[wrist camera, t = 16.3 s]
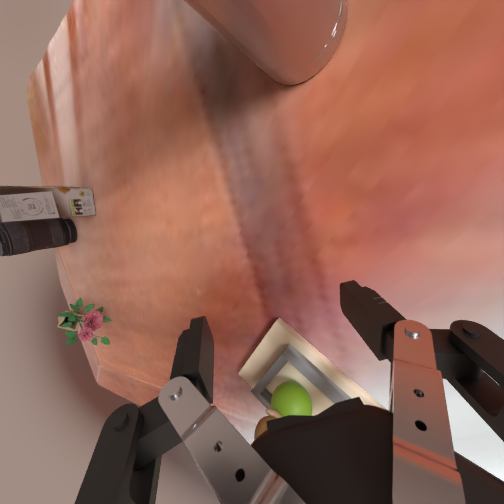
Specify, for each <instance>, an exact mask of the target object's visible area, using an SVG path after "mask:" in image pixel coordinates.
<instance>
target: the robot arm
mask: <svg viewBox="0 0 504 504" xmlns="http://www.w3.org/2000/svg"><path fill="white" fill-rule="evenodd" d="M184 1H185V2H186V3H187V4H189V5H190V6H191V7H192V8H193V9H194V10H195V11H197V12H198V13H199V14H200V15H201V16H202V17H203V18H204V19H206V20H207V21H208V22H209V23H210V24H211V25H212V26H213V27H215V28H216V29H217V30H218V31H219V32H220V33H221V34H223V35H224V36H225V37H226V38H227V39H228V40H229V41H230V42H232V43H233V44H234V45H235V46H236V47H237V48H238V49H240V50H241V51H242V52H243V53H244V54H245V55H246V56H247V57H249V58H250V59H251V60H252V61H253V62H254V63H255V64H256V65H257V66H259V67H260V68H261V69H262V70H263V71H264V72H265V73H267V74H268V75H269V76H270V77H271V78H272V79H274V80H275V81H276V82H279V83H281V84H285V85H294V84H299V83H301V82H304V81H306V80H308V79H310V78H311V77H313V76H314V75H316V74H317V73H318V72H319V71H320V70H321V69H322V68H323V67H324V66H325V65H326V63H327V62H328V61H329V60H330V58H331V57H332V55H333V53H334V52H335V50H336V48H337V47H338V44H339V42H340V39H341V37H342V34H343V31H344V27H345V23H346V15H347V3H346V0H184ZM340 305H341V309H342V312H343V314H344V315H345V316H346V318H347V319H348V320H349V322H350V323H351V324H352V326H353V327H354V328H355V330H356V331H357V332H358V333H359V335H360V336H361V337H362V339H363V340H364V341H365V343H366V344H367V345H368V347H369V348H370V349H371V351H372V352H373V353H374V354H375V356H376V357H377V358H378V360H379V361H381V360H384V359H388V360H389V361H390V362H391V366H390V391H389V410H386V409H383V408H380V407H377V406H373V405H364V404H363V402H362V400H361V399H360V397H356V398H352V399H348V400H344V401H340V402H337V403H335V404H333V405H332V406H330V407H329V408H327V409H326V410H324V411H322V412H321V413H319V414H317V415H315V416H308V415H288V416H284V417H280V418H276V419H272V420H269V421H266V423H267V429H268V430H266V431H264V432H263V433H262V434H260V435H259V436H258V437H257V438H256V439H255V440H254V442H253V443H252V444H251V445H250V444H249V443H248V442H247V441H246V440H245V439H244V437H243V436H242V435H241V434H240V433H239V432H238V431H237V430H236V428H235V427H234V426H233V425H232V424H231V423H230V422H229V421H228V419H227V418H226V417H225V416H224V415H223V414H222V413H221V412H220V410H219V409H218V408H217V407H216V406H214V405H213V406H211V405H210V404H211V403H213V369H214V341H213V336H212V333H211V331H210V328H209V325H208V322H207V319H206V317H205V316H202V317H198V318H194V319H191V323H190V329H187V330H184V331H183V332H182V334H181V335H180V337H179V339H178V343H177V348H176V354H175V357H174V362H173V367H172V371H171V376H170V380H169V381H168V382H167V383H166V384H165V385H164V386H163V388H162V389H161V391H160V393H159V396H158V397H156V398H155V399H153V400H152V401H150V402H148V403H146V404H145V405H143V406H141V407H139V408H138V407H137V406H136V405H135V404H125V405H123V406H121V407H119V408H118V409H116V410H115V411H114V412H113V413H112V414H111V415H110V416H109V417H108V419H107V420H106V422H105V424H104V426H103V428H102V431H101V433H100V436H99V439H98V442H97V444H96V447H95V450H94V452H93V455H92V458H91V461H90V463H89V466H88V469H87V471H86V474H85V477H84V480H83V482H82V485H81V488H80V490H79V493H78V496H77V499H76V501H75V504H155V501H156V494H157V486H158V479H159V472H160V465H161V457H162V454H164V453H166V452H167V451H169V450H170V449H171V448H173V447H175V446H176V445H178V444H179V443H181V442H183V444H184V446H185V447H186V449H187V450H188V452H189V453H190V455H191V457H192V458H193V460H194V461H195V463H196V465H197V466H198V468H199V469H200V471H201V473H202V474H203V476H204V477H205V479H206V481H207V482H208V484H209V486H210V487H211V489H212V490H213V492H214V494H215V495H216V497H217V498H218V500H219V502H220V503H221V504H504V482H503V481H502V480H500V479H499V478H497V477H495V476H494V475H492V474H491V473H489V472H487V471H486V470H484V469H483V468H481V467H479V466H478V465H476V464H475V463H473V462H471V461H470V460H468V459H466V458H465V457H463V456H462V455H460V454H458V453H457V452H455V451H454V449H453V443H452V436H451V430H450V424H449V417H448V411H447V405H446V399H445V392H444V386H443V380H442V379H447V380H448V382H449V383H450V384H451V385H452V386H453V387H454V388H455V389H456V390H457V391H458V392H459V394H460V395H461V396H462V397H463V398H464V399H465V400H466V401H467V402H468V403H469V404H470V406H471V407H472V408H473V409H474V410H475V411H476V412H477V413H478V414H479V415H480V416H481V418H482V419H483V420H484V421H485V422H486V423H487V424H488V425H489V426H490V427H491V428H492V430H493V431H494V432H495V433H496V434H497V435H498V436H499V437H500V438H501V439H502V440H503V442H504V340H503V339H502V338H500V337H499V336H498V335H496V334H495V333H493V332H492V331H491V330H489V329H488V328H486V327H485V326H483V325H481V324H478V323H475V322H472V321H467V320H458V321H454V322H453V323H451V326H450V329H428V328H427V327H426V326H425V325H423V324H421V323H419V322H416V321H413V320H406V319H405V318H404V317H403V316H402V315H401V314H400V313H399V312H398V311H396V310H395V309H394V308H393V307H392V306H391V305H390V304H389V303H388V302H386V301H385V300H384V299H383V298H381V296H380V295H379V294H378V293H376V292H375V291H374V290H372V289H370V288H368V287H361V286H360V285H359V284H358V283H357V282H356V281H354V280H352V281H348V282H344V283H341V284H340ZM484 371H485V372H486V373H487V374H488V375H489V376H490V377H489V376H488V375H487V374H486V373H485V372H484ZM494 380H495V381H496V382H497V383H498V384H499V385H500V386H499V385H498V384H497V383H496V382H495V381H494Z"/></svg>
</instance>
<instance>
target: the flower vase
mask: <svg viewBox="0 0 504 504" xmlns="http://www.w3.org/2000/svg"><path fill="white" fill-rule="evenodd" d="M70 306H71V308H72V309H73V310H74V312H77V313H74V312H73V311H68V310H67V311H64V312H62V313H60V314H59V315H57V316H59V317H58V322H59V324H58V326H57V327H59V328H63V329H67V330H71V331H76V330H77V328H78V327H79V325H80V326H81V324H80V323H81V321H84V323H83V324H84V328H82V326H81V328H82V330H80V332H79V333H78V334H79V336H78V337H80V339H81V340H82V341H84V342H86V340H88V341H90V340H91V339H93V338H94V337H93V338H92V337H91V335H93V336H94V332H95V330H96V329H97V328H100V327H101V323H102V322H109V321H111V320H110V319H109V318H108V317H105V316H103V315H102V313H101V312H102V311H103V307H101V308H99V309H97V310H96V311H95V310H94V311H90V310H91V309H92V308H93V306H94V304H92V305H88V306H86V307H85V308H84V309H85V310H84V311H87V312H88V311H90V312H89V314H86V315H81V314H78V310H79V309H78V307H82V306H83V301H82V299H81V297H80V298H79V299H78V300H77V302H76V306H75V305H72V304H70ZM84 316H85V318H84ZM83 318H84V319H83ZM82 319H83V320H82ZM71 331H68V332H65V333H66V336H67V337H68V338H70V339H69V340H68V341H67V342H66V344H65V345H70V344H73V343H76V342H77V340H76V339H75V338H74V336H75V335H76V333H74V332H71ZM97 337H98V336H97ZM101 338H102V337H101ZM101 342H102V343H104V344H110V340H109V339H108V338H107V337H103V338H102V339H101ZM92 343H93V344H94V345H97V339H96V338H94V339H93V340H92Z"/></svg>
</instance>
